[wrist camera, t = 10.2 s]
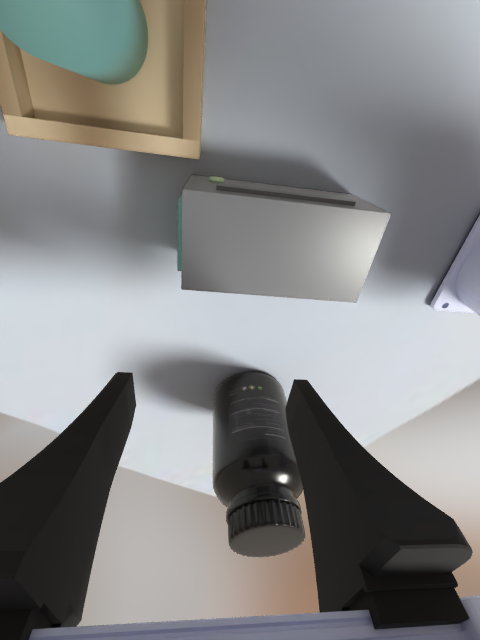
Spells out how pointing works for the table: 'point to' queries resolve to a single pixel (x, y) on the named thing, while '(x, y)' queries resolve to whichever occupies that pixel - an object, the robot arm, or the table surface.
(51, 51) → the teal peg
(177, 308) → the table surface
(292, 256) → the gray block
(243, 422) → the supplement bottle
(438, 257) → the table surface
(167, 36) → the birch tray
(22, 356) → the table surface
